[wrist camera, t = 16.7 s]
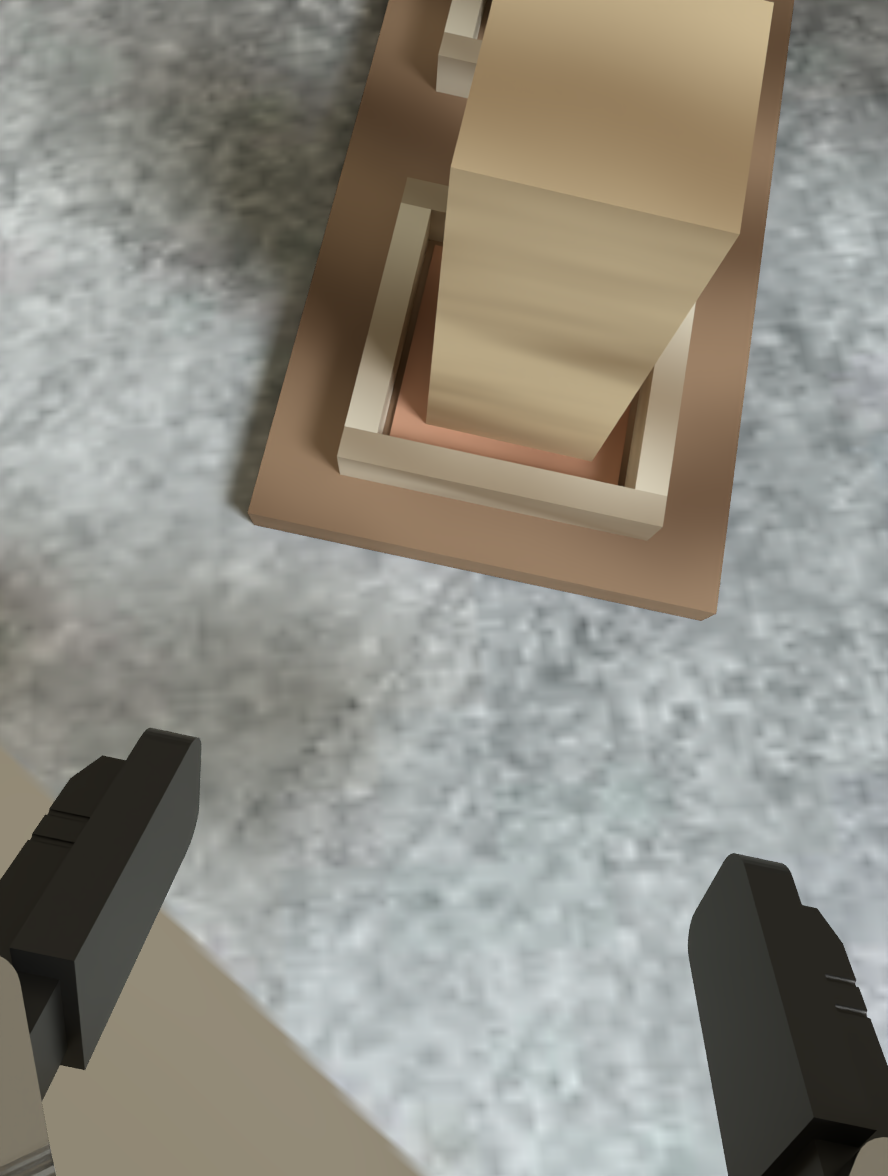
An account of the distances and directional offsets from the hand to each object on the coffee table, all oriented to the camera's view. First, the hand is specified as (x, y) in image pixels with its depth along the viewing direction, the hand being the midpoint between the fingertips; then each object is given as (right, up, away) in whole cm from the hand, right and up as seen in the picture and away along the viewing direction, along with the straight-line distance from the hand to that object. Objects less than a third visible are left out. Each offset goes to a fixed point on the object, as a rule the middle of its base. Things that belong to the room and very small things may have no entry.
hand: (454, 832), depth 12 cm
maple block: (+2, +10, +9) cm, 13 cm away
